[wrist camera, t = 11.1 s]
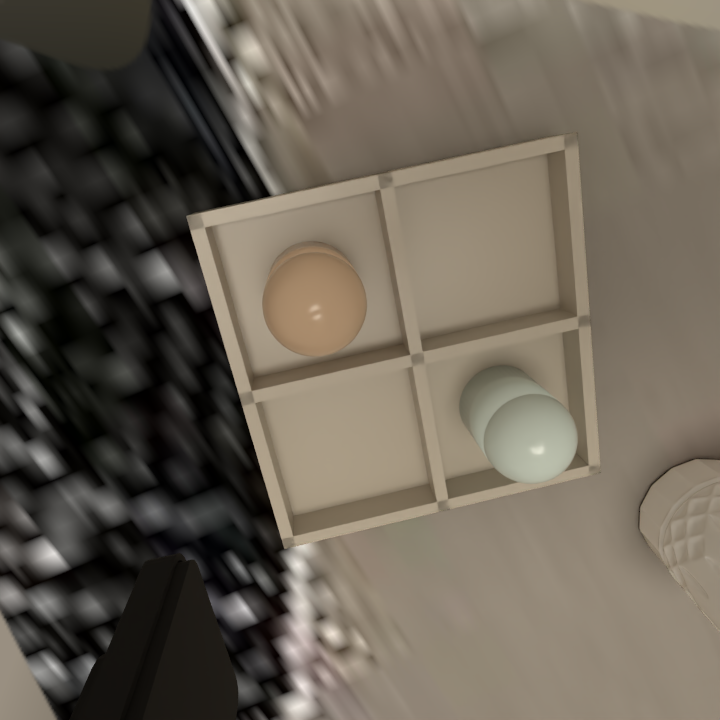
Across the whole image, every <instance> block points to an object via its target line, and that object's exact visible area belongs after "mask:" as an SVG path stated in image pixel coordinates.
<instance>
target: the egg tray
mask: <svg viewBox="0 0 720 720" xmlns="http://www.w3.org/2000/svg"><path fill="white" fill-rule="evenodd" d="M186 217H187V221H188V224H189V227H190V231H191V234H192V238H193V241H194V244H195V248H196V251H197V254H198V258H199V261H200V265H201V268H202V271H203V275H204V278H205V282H206V285H207V288H208V292H209V295H210V298H211V302H212V305H213V309H214V312H215V315H216V319H217V322H218V326H219V329H220V332H221V336H222V339H223V342H224V346H225V349H226V353H227V356H228V359H229V363H230V366H231V369H232V373H233V376H234V380H235V383H236V386H237V390H238V393H239V397H240V400H241V403H242V407H243V410H244V413H245V417H246V420H247V424H248V427H249V430H250V434H251V437H252V440H253V444H254V447H255V451H256V454H257V457H258V461H259V464H260V468H261V471H262V474H263V478H264V481H265V484H266V488H267V491H268V495H269V498H270V501H271V505H272V508H273V512H274V515H275V518H276V522H277V525H278V528H279V532H280V535H281V539H282V542H283V545H284V549H286V548H291V547H295V546H299V545H303V544H307V543H311V542H316V541H320V540H324V539H328V538H332V537H336V536H340V535H345V534H349V533H353V532H357V531H361V530H365V529H370V528H374V527H378V526H382V525H386V524H390V523H394V522H399V521H403V520H407V519H411V518H415V517H419V516H424V515H428V514H432V513H436V512H440V511H444V510H448V509H453V508H457V507H461V506H465V505H469V504H473V503H477V502H482V501H486V500H490V499H494V498H498V497H502V496H507V495H511V494H515V493H519V492H523V491H527V490H531V489H536V488H540V487H544V486H548V485H552V484H556V483H561V482H565V481H569V480H573V479H577V478H581V477H585V476H590V475H594V474H598V473H601V470H600V455H599V441H598V426H597V412H596V397H595V383H594V368H593V353H592V339H591V324H590V310H589V295H588V281H587V266H586V252H585V237H584V222H583V208H582V193H581V179H580V164H579V150H578V135H577V132H574V133H567V134H561V135H554V136H549V137H545V138H540V139H535V140H531V141H526V142H521V143H517V144H512V145H507V146H503V147H498V148H493V149H489V150H484V151H480V152H475V153H470V154H466V155H461V156H456V157H452V158H447V159H442V160H438V161H433V162H428V163H424V164H419V165H414V166H410V167H405V168H400V169H396V170H391V171H386V172H382V173H377V174H373V175H368V176H363V177H359V178H354V179H349V180H345V181H340V182H335V183H331V184H326V185H321V186H317V187H312V188H307V189H303V190H298V191H293V192H289V193H284V194H280V195H275V196H270V197H266V198H261V199H256V200H252V201H247V202H242V203H238V204H233V205H228V206H224V207H219V208H214V209H210V210H205V211H200V212H196V213H193V214H191V215H188V216H186ZM306 241H318V242H323V243H327V244H329V245H331V246H333V247H335V248H337V249H338V250H339V251H341V252H342V253H343V254H344V255H345V256H346V257H347V258H348V260H349V261H350V263H351V264H352V266H353V268H354V269H355V271H356V272H357V274H358V276H359V277H360V279H361V281H362V283H363V286H364V289H365V292H366V298H367V312H366V317H365V321H364V323H363V326H362V328H361V330H360V332H359V333H358V335H357V336H356V337H355V339H354V340H353V341H352V342H351V343H350V344H349V345H347V346H346V347H345V348H343V349H341V350H340V351H338V352H335V353H333V354H330V355H326V356H320V357H311V356H304V355H300V354H297V353H294V352H292V351H290V350H288V349H287V348H285V347H284V346H283V345H281V344H280V343H279V342H278V341H277V340H276V339H275V338H274V336H273V335H272V334H271V332H270V331H269V329H268V327H267V325H266V322H265V319H264V315H263V309H262V298H263V292H264V288H265V285H266V281H267V278H268V275H269V272H270V269H271V266H272V265H273V263H274V261H275V260H276V258H277V257H278V256H279V255H280V254H281V253H282V252H283V251H284V250H286V249H287V248H289V247H290V246H292V245H295V244H297V243H301V242H306ZM498 365H507V366H513V367H516V368H519V369H520V370H522V371H524V372H525V373H526V374H528V375H529V376H530V377H531V378H532V379H533V380H535V381H536V382H537V383H538V384H539V385H540V386H542V387H543V388H544V389H545V390H546V391H547V392H549V393H550V394H551V395H552V396H553V397H554V398H556V399H557V400H558V401H559V402H560V403H561V404H562V405H563V406H564V407H565V408H566V409H567V410H568V411H569V413H570V414H571V416H572V418H573V420H574V422H575V425H576V429H577V434H578V443H577V449H576V453H575V455H574V458H573V460H572V462H571V463H570V465H569V466H568V467H567V469H566V470H565V471H564V472H562V473H561V474H560V475H559V476H557V477H555V478H554V479H552V480H549V481H546V482H543V483H537V484H525V483H520V482H516V481H513V480H511V479H509V478H507V477H505V476H504V475H502V474H501V473H499V472H498V471H497V470H496V469H495V468H494V467H493V466H492V464H491V463H490V462H489V460H488V459H487V457H486V456H485V455H484V453H483V452H482V450H481V449H480V447H479V446H478V444H477V443H476V441H475V440H474V438H473V437H472V435H471V434H470V432H469V431H468V430H467V428H466V427H465V425H464V423H463V422H462V419H461V416H460V411H459V402H460V397H461V394H462V392H463V390H464V388H465V386H466V385H467V383H468V382H469V381H470V380H471V379H472V378H473V377H474V376H475V375H476V374H478V373H479V372H481V371H483V370H485V369H487V368H489V367H493V366H498Z"/></svg>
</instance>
